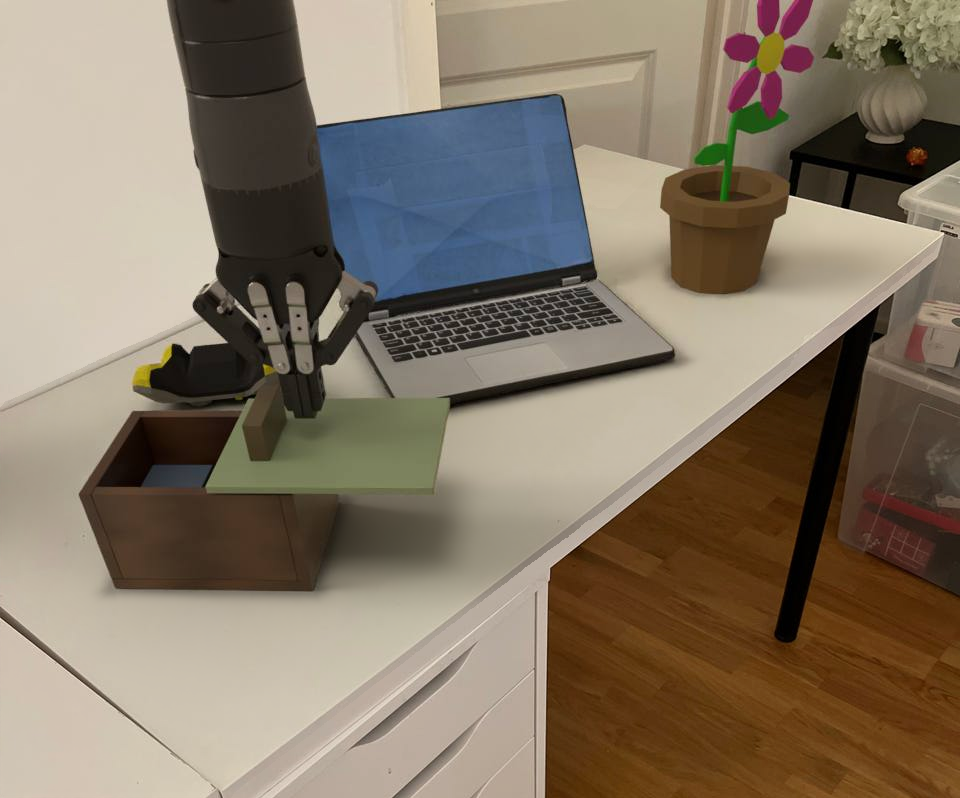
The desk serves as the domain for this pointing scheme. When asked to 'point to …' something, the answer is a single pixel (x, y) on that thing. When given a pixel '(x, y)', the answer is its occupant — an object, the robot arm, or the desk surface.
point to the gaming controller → (201, 375)
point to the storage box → (198, 514)
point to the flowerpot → (736, 169)
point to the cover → (333, 447)
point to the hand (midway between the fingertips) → (307, 413)
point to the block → (178, 476)
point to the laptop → (475, 251)
